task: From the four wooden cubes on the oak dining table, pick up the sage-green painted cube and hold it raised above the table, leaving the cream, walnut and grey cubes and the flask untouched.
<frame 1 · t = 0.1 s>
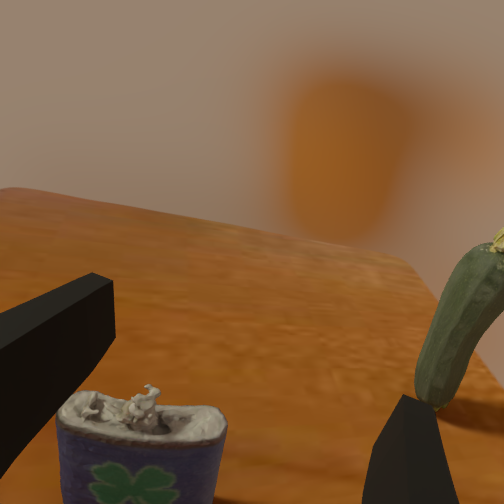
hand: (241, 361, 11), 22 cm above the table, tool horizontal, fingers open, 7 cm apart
vegetable: (417, 403, 39), on the table
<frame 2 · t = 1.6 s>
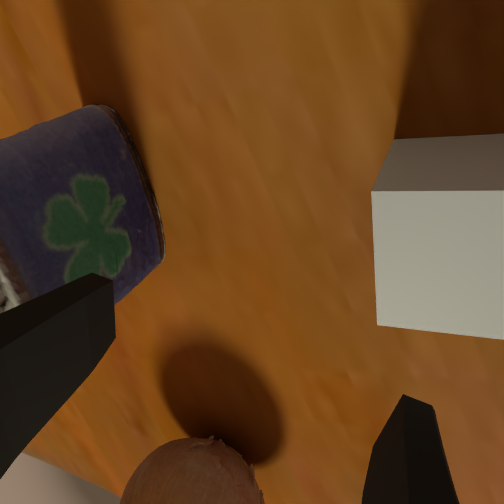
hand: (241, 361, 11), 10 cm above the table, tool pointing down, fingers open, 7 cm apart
onion: (226, 447, 33), on the table
grey cube: (462, 199, 17), on the table
flask: (132, 190, 23), on the table
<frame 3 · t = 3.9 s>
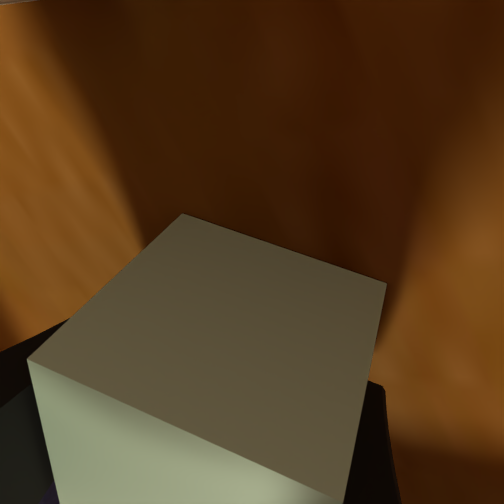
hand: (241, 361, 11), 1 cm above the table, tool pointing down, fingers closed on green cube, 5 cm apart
green cube: (261, 322, 12), on the table, touching gripper
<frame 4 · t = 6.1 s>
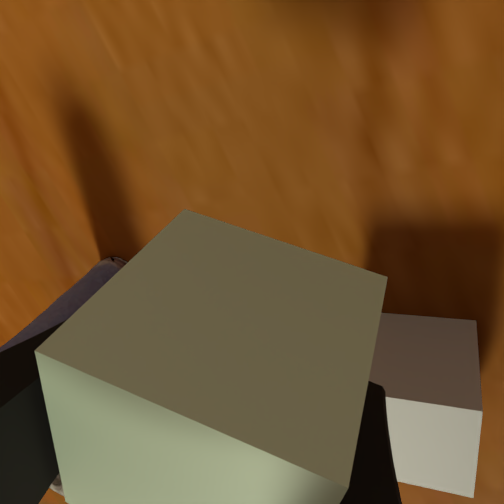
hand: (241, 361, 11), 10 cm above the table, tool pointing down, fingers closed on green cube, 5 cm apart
grey cube: (414, 355, 21), on the table
flask: (142, 316, 27), on the table
green cube: (263, 317, 12), point 8 cm above the table, touching gripper
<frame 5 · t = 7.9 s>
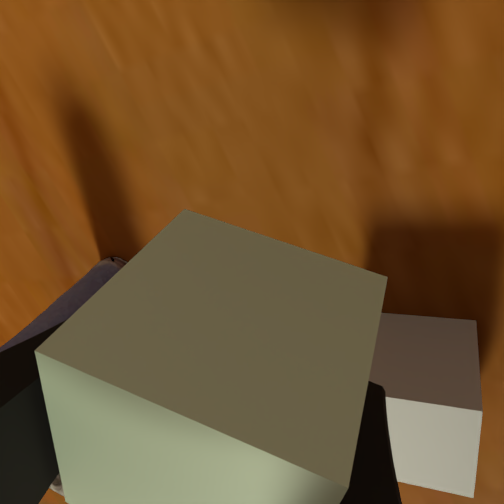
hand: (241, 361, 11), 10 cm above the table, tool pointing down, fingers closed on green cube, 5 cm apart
grey cube: (414, 355, 21), on the table
flask: (142, 316, 27), on the table
green cube: (263, 317, 12), point 8 cm above the table, touching gripper
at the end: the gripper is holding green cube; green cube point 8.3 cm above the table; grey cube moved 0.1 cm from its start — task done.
